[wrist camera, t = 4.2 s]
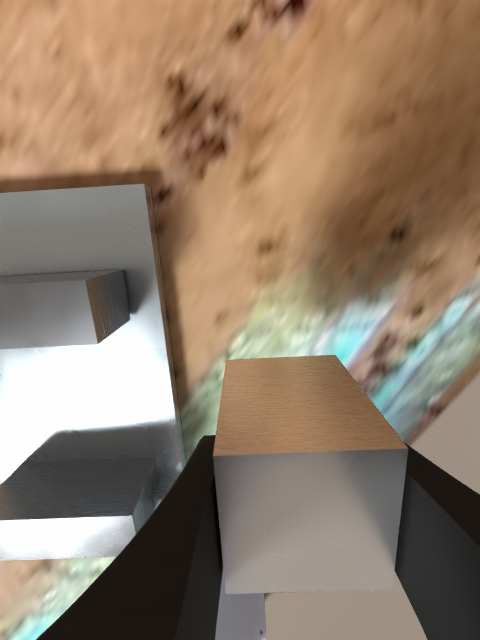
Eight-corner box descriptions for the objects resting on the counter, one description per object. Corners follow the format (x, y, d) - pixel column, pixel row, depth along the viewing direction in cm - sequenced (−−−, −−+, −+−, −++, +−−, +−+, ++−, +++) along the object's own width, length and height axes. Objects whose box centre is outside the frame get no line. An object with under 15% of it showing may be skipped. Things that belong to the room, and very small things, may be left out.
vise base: (192, 511, 20) (177, 594, 15) (30, 517, 20) (-33, 601, 15) (150, 187, 14) (107, 164, 10) (-71, 201, 15) (-214, 185, 10)
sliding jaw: (130, 319, 15) (98, 344, 12) (-26, 328, 15) (-103, 354, 12) (122, 269, 14) (85, 280, 11) (-41, 278, 14) (-128, 292, 11)
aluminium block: (332, 447, 12) (392, 589, 7) (232, 451, 12) (225, 594, 7) (335, 354, 11) (408, 448, 6) (226, 359, 11) (213, 455, 6)
